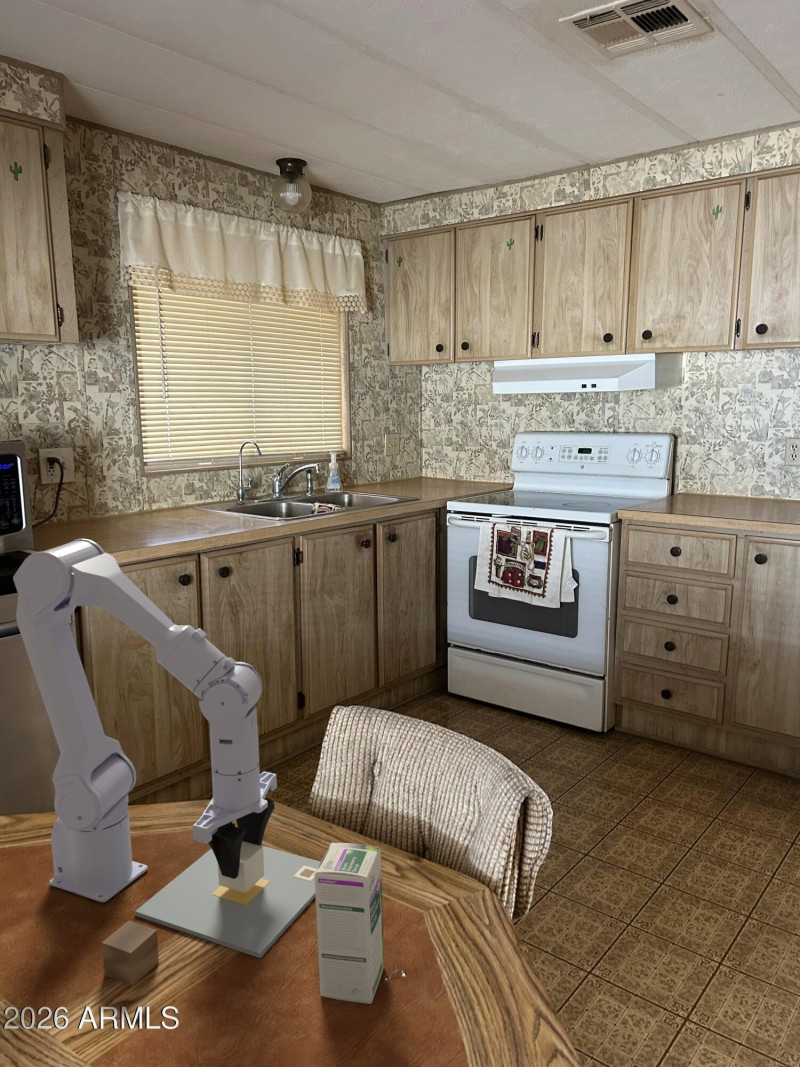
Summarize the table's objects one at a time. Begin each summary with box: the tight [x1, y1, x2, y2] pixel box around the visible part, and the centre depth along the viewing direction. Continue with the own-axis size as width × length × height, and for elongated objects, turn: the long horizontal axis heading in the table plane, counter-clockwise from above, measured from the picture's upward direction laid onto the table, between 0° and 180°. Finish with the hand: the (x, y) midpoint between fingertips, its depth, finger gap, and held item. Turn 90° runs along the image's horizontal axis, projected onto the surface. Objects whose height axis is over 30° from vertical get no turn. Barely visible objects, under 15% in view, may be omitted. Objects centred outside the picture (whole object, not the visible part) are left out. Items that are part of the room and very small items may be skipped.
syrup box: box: [314, 842, 385, 1005], centre depth 84 cm, size 6×6×14 cm
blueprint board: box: [134, 845, 321, 959], centre depth 100 cm, size 18×18×1 cm
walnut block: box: [101, 920, 160, 987], centre depth 87 cm, size 4×4×4 cm
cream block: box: [218, 841, 264, 893], centre depth 100 cm, size 4×4×4 cm
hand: (240, 866), depth 100 cm, fingers closed on cream block, 4 cm apart
